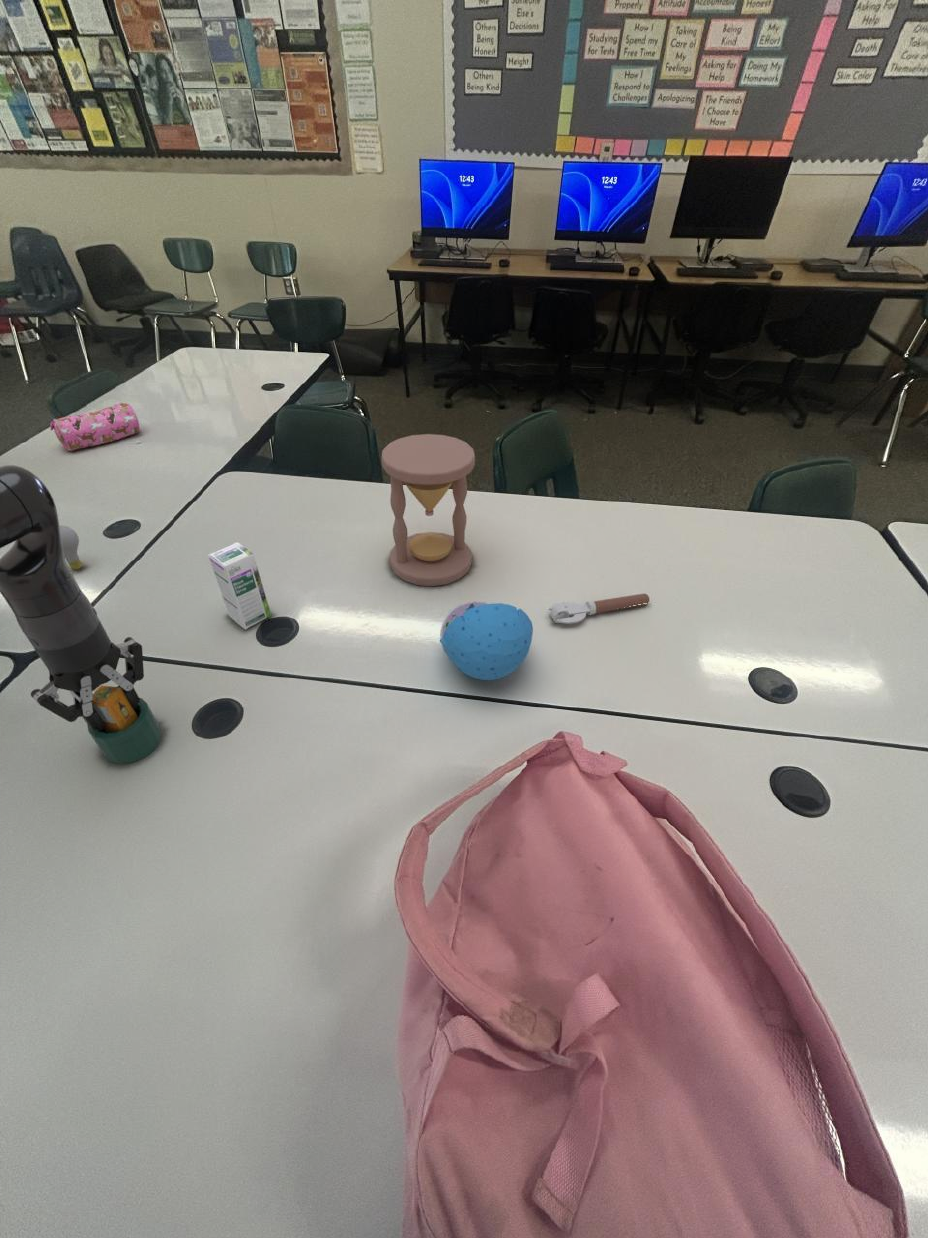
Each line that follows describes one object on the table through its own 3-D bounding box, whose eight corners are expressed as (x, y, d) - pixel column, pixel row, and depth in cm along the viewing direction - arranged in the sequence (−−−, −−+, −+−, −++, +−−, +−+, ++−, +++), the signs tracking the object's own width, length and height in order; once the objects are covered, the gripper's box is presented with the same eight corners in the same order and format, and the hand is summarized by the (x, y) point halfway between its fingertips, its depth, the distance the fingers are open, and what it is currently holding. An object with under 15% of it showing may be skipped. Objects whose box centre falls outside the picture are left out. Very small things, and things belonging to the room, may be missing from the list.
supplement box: (127, 727, 86) (101, 682, 79) (147, 731, 85) (123, 686, 79) (112, 745, 83) (84, 700, 77) (133, 749, 83) (107, 704, 76)
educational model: (512, 621, 107) (518, 556, 97) (539, 695, 93) (549, 628, 83) (431, 630, 105) (429, 564, 95) (445, 707, 91) (445, 639, 81)
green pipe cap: (122, 773, 81) (105, 748, 77) (94, 746, 84) (76, 720, 80) (171, 738, 85) (158, 712, 81) (143, 713, 89) (129, 688, 85)
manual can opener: (633, 590, 115) (636, 578, 113) (650, 607, 111) (654, 595, 109) (544, 612, 109) (545, 600, 107) (559, 632, 105) (561, 620, 103)
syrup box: (245, 631, 104) (224, 566, 94) (228, 616, 107) (206, 553, 97) (271, 616, 107) (254, 553, 98) (254, 602, 110) (236, 540, 101)
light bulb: (57, 570, 117) (34, 529, 110) (83, 558, 120) (62, 517, 114) (71, 579, 115) (48, 537, 108) (97, 566, 118) (77, 525, 112)
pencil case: (133, 426, 174) (122, 397, 168) (146, 435, 169) (135, 405, 163) (57, 447, 162) (43, 416, 156) (69, 457, 157) (55, 426, 151)
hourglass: (395, 591, 114) (385, 477, 97) (386, 544, 126) (376, 436, 110) (479, 581, 116) (484, 469, 100) (462, 536, 129) (464, 430, 113)
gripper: (104, 587, 76) (148, 675, 87) (-14, 645, 67) (52, 735, 78) (135, 609, 72) (177, 698, 83) (15, 673, 63) (79, 763, 75)
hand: (116, 715), depth 81 cm, fingers closed on supplement box, 4 cm apart
